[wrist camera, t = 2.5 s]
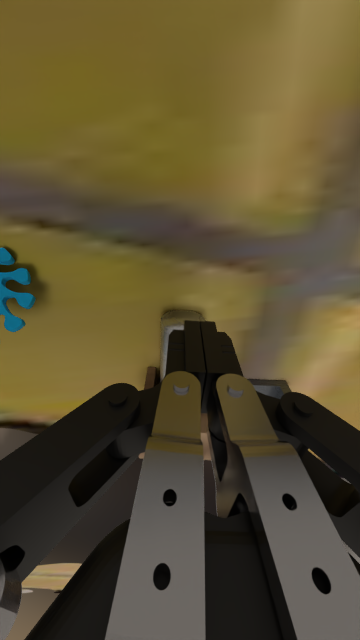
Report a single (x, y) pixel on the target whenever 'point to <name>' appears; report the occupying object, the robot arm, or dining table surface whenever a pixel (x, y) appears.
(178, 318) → the axle
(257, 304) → the dining table surface
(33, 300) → the gear
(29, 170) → the dining table surface
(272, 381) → the v block
